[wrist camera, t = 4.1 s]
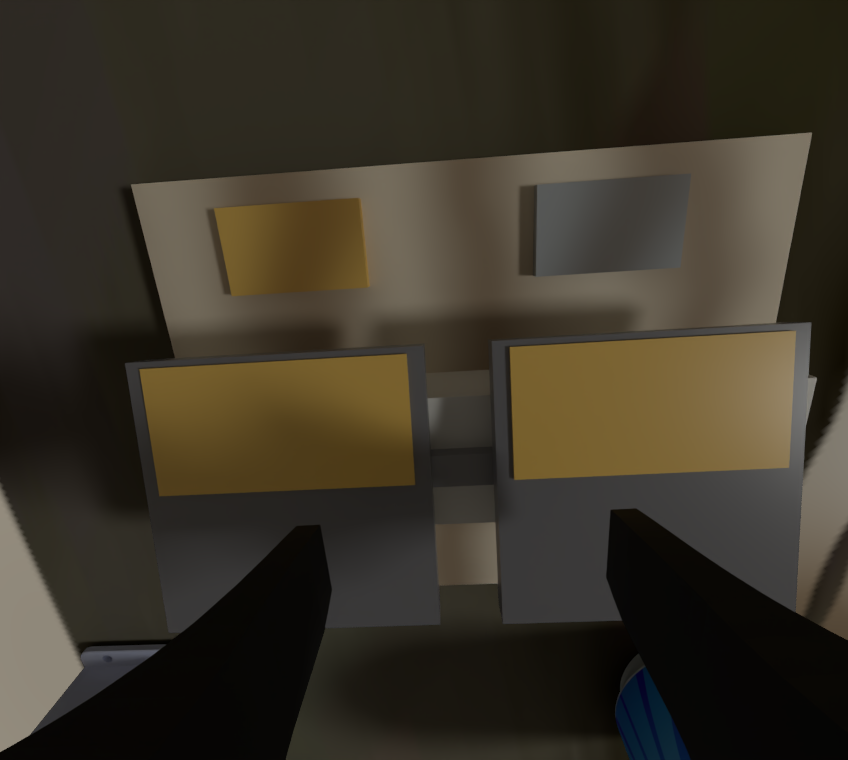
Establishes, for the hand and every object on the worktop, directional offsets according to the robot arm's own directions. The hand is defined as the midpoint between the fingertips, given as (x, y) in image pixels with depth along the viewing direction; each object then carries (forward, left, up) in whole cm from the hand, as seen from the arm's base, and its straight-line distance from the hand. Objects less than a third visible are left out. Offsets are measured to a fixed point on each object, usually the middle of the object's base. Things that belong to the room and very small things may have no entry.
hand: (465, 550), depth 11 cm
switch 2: (+6, 0, -4) cm, 7 cm away
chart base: (+1, +1, -8) cm, 8 cm away
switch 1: (-5, 0, -4) cm, 6 cm away
